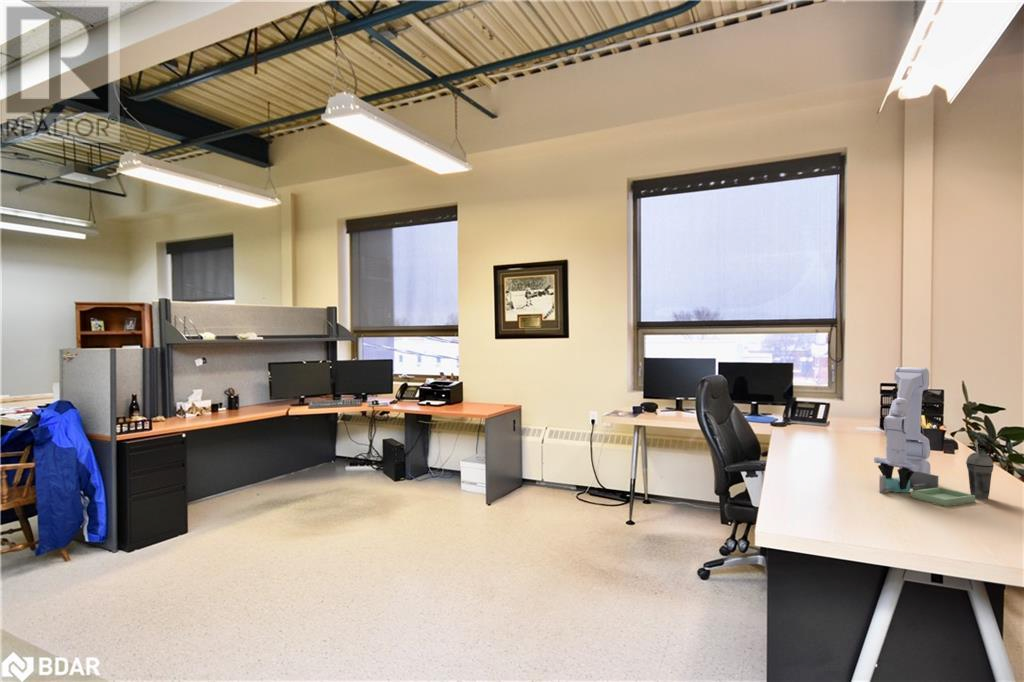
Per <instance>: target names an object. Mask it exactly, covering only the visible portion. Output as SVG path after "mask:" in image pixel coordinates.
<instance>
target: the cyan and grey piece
mask: <svg viewBox="0 0 1024 682" xmlns="http://www.w3.org/2000/svg"><path fill="white" fill-rule="evenodd" d="M878 476H879V481H878V482H879V483H878V485H879V486H878V487H879V493H880V492H881V493H880V494H886V493H887V492H892V491H894V492H893V493H895V492H898V493H897V494H900V493H899V492H904V493H909V492H908V491H910V492H911V486H910V480H909V481H908V484H907V487H906V489H900V478H899V477H892V478H888V479H886V476H884V475H882V474H879V475H878Z"/></svg>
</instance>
